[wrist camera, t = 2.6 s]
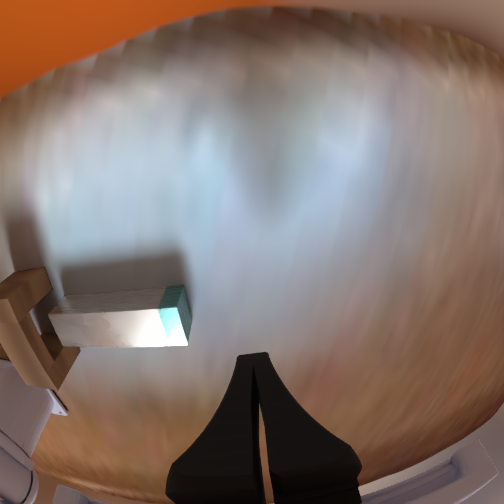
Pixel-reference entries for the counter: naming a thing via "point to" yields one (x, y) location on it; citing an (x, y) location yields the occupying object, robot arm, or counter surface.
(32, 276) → the angled brown block
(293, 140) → the counter surface
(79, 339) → the white teal bar
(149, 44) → the counter surface
